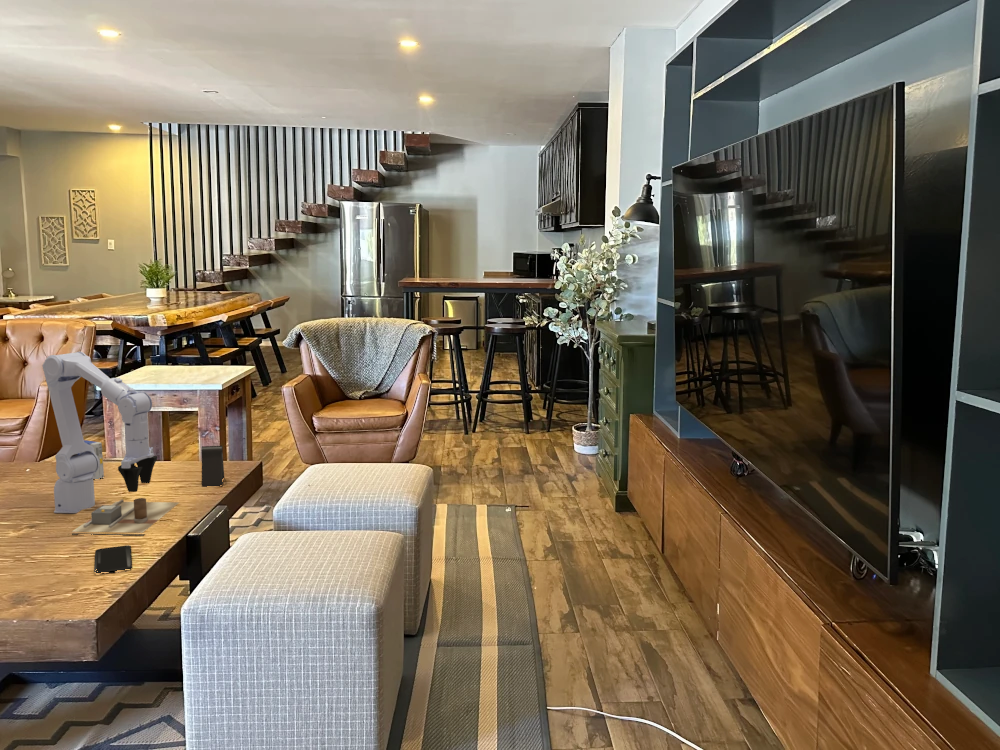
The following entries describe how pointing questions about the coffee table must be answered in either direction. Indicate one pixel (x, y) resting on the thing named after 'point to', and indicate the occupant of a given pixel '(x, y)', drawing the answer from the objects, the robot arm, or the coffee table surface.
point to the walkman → (98, 452)
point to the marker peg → (140, 511)
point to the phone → (113, 559)
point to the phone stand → (212, 466)
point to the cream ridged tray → (128, 519)
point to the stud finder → (106, 514)
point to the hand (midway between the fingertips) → (139, 487)
